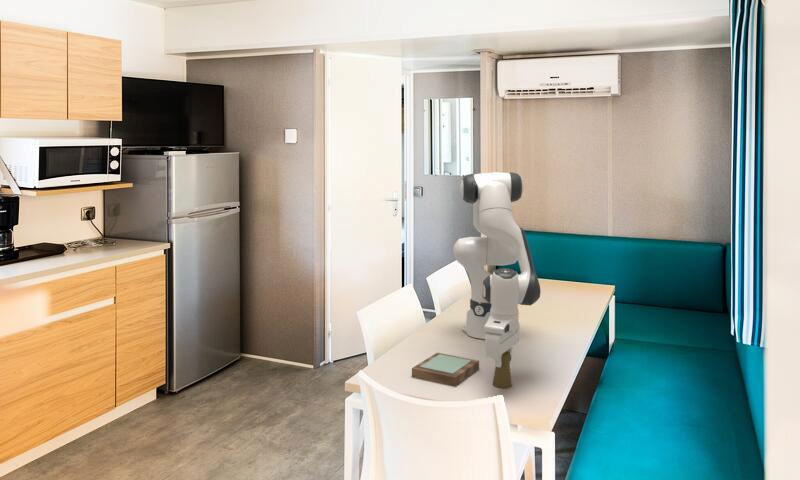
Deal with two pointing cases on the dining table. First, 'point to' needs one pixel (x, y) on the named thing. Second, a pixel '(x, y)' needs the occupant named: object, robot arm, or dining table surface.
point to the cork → (503, 372)
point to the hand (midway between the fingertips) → (502, 363)
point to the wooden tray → (445, 369)
